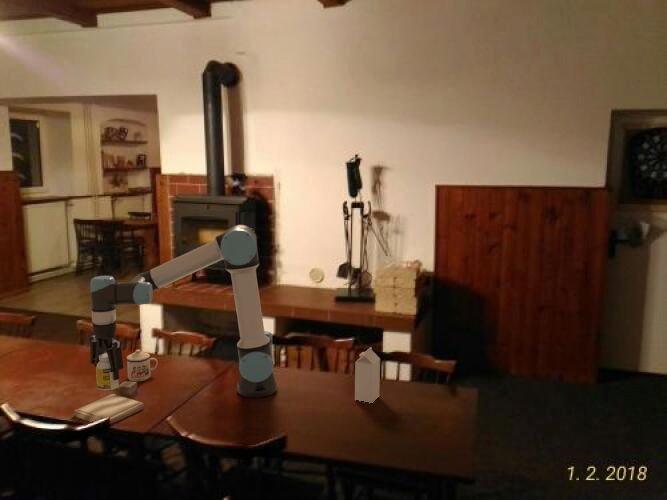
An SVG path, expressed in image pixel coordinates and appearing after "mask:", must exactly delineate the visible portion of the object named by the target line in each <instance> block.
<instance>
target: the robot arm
mask: <svg viewBox="0 0 667 500" xmlns="http://www.w3.org/2000/svg"><path fill="white" fill-rule="evenodd" d="M257 239H258V238H257V236H256V233H255V232H254V230H253V229H252V228H251V227H249V226H247V225H244V224H237V225H233V226H231V227H230V228H229V229H227V230H225V231H224V232H222V233H220V234H218V235H216V236H215V237H214V239H213V240H212V241H210V242H208V243H206V244H203V245H200V246H199V247H197V248H194V249H192V250H190V251H188V252H185V253H184V254H181V255H180V256H177V257H175V258H173V259H170V260H169V261H167V262H164V263H162V264H161V265H160V264H159V265H158V266H156V267H154V268H151V269H149V270H147V271H145V272H141V273H138V274H137V275H135V276H134V277H133V278H132V279H131V280H130V281H129V282H116V280H115V277H113V276H111V275H99V276H94V277H92V278H91V280H90V290H89V293H90V302H91V303H90V304H91V322H92V324H91V325H92V334H93V335H91V336H89V343H90V351H89V353H90V354H89V357H90V358H89V359H90V361H89V362H90V364H92V365H93V366H94V368H95V376H96V379H97V364H98V362H100V360H99V355H101V354H104V353H107V355H108V359H109V363H110V366H111V371H110V384H111V390H112V391H113V390H115V389H117V388H118V387H119V385H120V383H119V380H120V370H122V369H124V361H123V353H122V345H123V342H122V340H117V339H116V337H115V335H116V333H117V331H118V329H117V325H118V324H117V321H116V320H117V311H116V305H120V306H121V305H124V306H125V305H133V306H134V305H139V306H142V305H148V304H150V303H152V301H153V294H154V292H155V291H157V290H160V289H161V288H163V287H166V286H167V285H170V284H172V283H175V282H176V281H178V280H180V279H183V278H185V277H187V276H190V275H191V274H194V273H195V272H198V271H200V270H202V269H204V268H207V267H209V266H211V265H214V264H216V263H219V261H222V260H223V261H224V262H223V263H224V268H225V270H226V271H227V272H228V273H230V278H231V282H232V291H233V296H234V303H235V312H236V317H237V325H238V330H239V331H238V332H239V337H240V339H239V341H238V342H237V343H236V347H237V353H238V361H239V363H238V370H239V372H240V376H239V380H238V383H237V393H238V394H239V395H240V396H242V397H245V396H246V397H245V398H249V397H261V398H264V397H263V396H266V397H268V396H267V395H270V394H272V393H274V392H275V391H276V390H277V391H278V381H277V380H276V376H275V373H274V357H273V354H274V353H273V339H274V338H273V334H272V333H271V332H270V331H267V330H265V326H264V319H263V313H262V306H261V299H260V290H259V285H258V284H259V283H258V279H257V278H258V277H257V268H258V267H259V265H260V261H259V253H258V243H257V242H258V240H257ZM277 391H276V392H277ZM276 392H275V393H276ZM275 393H274V394H275ZM272 395H273V394H272ZM270 396H271V395H270Z"/></svg>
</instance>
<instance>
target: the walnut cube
mask: <svg viewBox="0 0 667 500" xmlns="http://www.w3.org/2000/svg"><path fill="white" fill-rule="evenodd" d="M116 389H117V395H119V396H122V397H126V398H129V399H132V400H134V398H135V397H136V396H137V395H138V394H139V393H138V381H137V382H135V381H130V380H124V381H123V382H121V383H119V387H118V388H116Z"/></svg>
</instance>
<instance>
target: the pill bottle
mask: <svg viewBox="0 0 667 500" xmlns="http://www.w3.org/2000/svg"><path fill="white" fill-rule="evenodd" d="M99 360H100V362H98V364H97V378H96V386H97V389H98V390H101V391H110V390H111V384H110V371H111V366H110V363H109V359H108V355H107V353H106V352H104V354H101V355H99Z"/></svg>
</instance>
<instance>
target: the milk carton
mask: <svg viewBox="0 0 667 500" xmlns="http://www.w3.org/2000/svg"><path fill="white" fill-rule="evenodd" d="M358 355H359V359H357V360H356V361H355V363H354V365H355V368H354V369H355V370H354V401H356V400H359V401H358V402H361V401H364V402H363V403H365V402H369V403H368V404H370V403H373V402H374V401H375V400H376V399H377V398H378V397H380V382H381V381H380V380H381V379H380V378H381V377H380V376H381V375H380V373H381V358H380V357H379V355H377V353H375V351H373V349H372V347H369V348H368V349H367V350H366V351H363V352H361V353H359V354H358ZM378 399H379V398H378ZM376 401H377V400H376ZM376 401H375V402H376ZM375 402H374V403H375ZM374 403H373V404H374Z"/></svg>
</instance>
